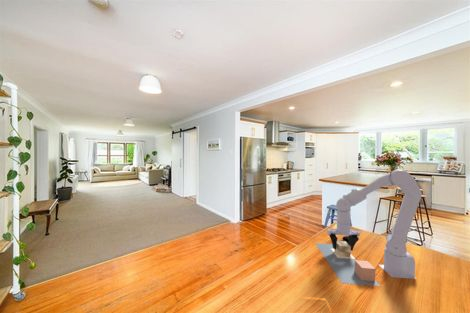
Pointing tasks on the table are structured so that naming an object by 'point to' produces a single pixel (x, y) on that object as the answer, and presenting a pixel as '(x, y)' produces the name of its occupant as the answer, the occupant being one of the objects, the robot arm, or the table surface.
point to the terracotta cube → (364, 270)
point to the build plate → (346, 239)
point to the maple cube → (343, 248)
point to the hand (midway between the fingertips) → (342, 249)
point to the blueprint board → (343, 266)
